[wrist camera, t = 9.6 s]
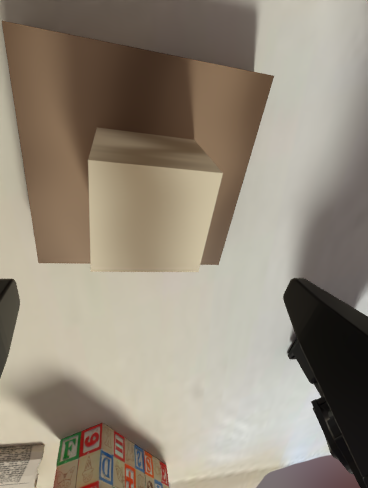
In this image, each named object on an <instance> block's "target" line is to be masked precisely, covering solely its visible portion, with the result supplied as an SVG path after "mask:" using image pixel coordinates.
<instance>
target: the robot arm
mask: <svg viewBox="0 0 368 488" xmlns="http://www.w3.org/2000/svg"><path fill="white" fill-rule="evenodd" d="M283 299H284V303H285V306H286V309H287V311H288V314H289V317H290V320H291V323H292V325H293V328H294V331H295V334H296V336H297V340H296V342H295V343H294V345H293V347H292V348H291V350H290V352H289V353H288V357H289V359H297V361H298V363H299V364H300V366H301V368H302V370H303V371H304V373H305V375H306V377H307V378H308V380H309V382H310V383H311V384H314V385H315V387H316V389H317V390H318V392H319V394H320V395H321V398H319V399H317V400H316V399H315V400H313V401H311V402H312V405H313V410H314V412H315V414H316V416H317V419H318V421H319V423H320V425H321V428H322V430H323V432H324V435H325V438H326V441H327V444H328V447H329V450H330V453H331V454H332V456H333V457H334V458H336V459H338V460H339V461H340V462H341V463H342V464H343V466H344V467H345V468H346V469H347V471H348V472H350V473H351V474H354V476H355V478H356V480H357V482H358V484H359V486H360V487H361V488H368V316H366V315H364V314H363V313H361V312H359V311H358V310H356V309H354V308H353V307H351V306H349V305H348V304H346V303H344V302H343V301H341V300H339V299H338V298H336V297H334V296H333V295H331V294H329V293H328V292H326V291H324V290H323V289H321V288H319V287H318V286H316V285H314V284H313V283H311V282H309V281H308V280H306V279H304V278H293V279H292V280H291V281H290V283H289V285H288V287H287V289H286V291H285V293H284V296H283ZM19 306H20V299H19V294H18V290H17V285H16V282H15V280H14V279H0V377H1V375H2V372H3V369H4V366H5V364H6V361H7V357H8V354H9V350H10V346H11V341H12V337H13V333H14V328H15V324H16V320H17V315H18V311H19Z"/></svg>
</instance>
